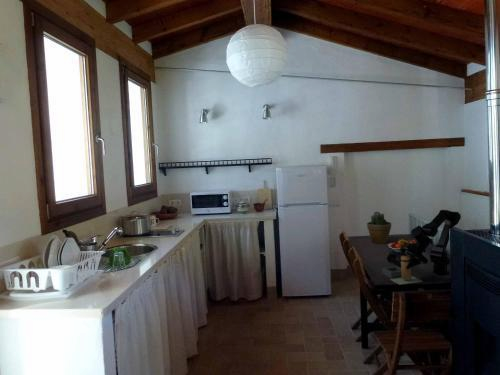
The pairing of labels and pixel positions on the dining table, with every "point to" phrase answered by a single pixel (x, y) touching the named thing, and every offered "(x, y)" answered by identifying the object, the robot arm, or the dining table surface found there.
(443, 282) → the dining table surface
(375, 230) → the potted plant
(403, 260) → the tan upright cylinder
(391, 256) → the microphone
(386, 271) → the clamp block
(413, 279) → the pad
